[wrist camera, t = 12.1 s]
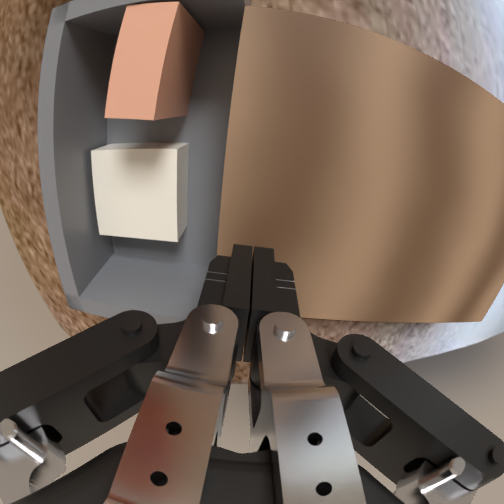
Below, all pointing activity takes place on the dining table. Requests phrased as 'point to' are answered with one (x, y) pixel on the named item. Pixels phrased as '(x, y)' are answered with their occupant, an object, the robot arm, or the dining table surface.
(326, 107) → the walnut board
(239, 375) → the dining table surface
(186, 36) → the terracotta tile
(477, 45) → the dining table surface
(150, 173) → the cream block
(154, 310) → the box
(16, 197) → the dining table surface
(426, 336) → the dining table surface
